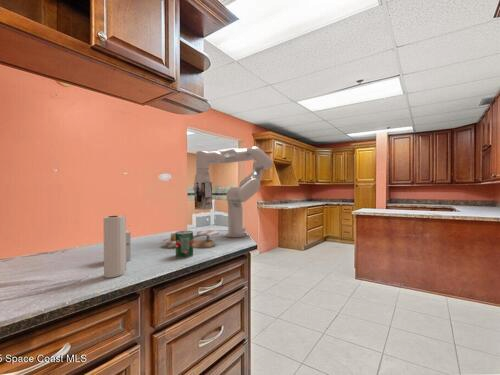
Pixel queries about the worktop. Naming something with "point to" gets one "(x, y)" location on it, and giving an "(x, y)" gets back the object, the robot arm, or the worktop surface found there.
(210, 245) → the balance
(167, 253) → the worktop surface
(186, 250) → the canned tomato
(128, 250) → the supplement box
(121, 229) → the paper towel roll
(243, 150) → the robot arm
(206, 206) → the coffee box
